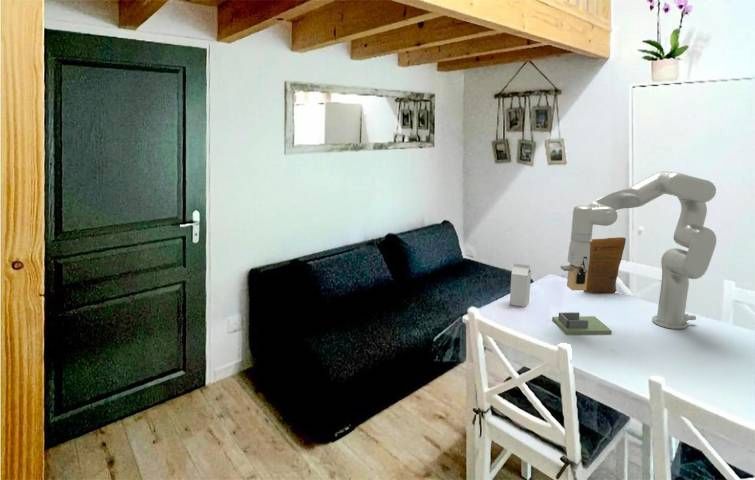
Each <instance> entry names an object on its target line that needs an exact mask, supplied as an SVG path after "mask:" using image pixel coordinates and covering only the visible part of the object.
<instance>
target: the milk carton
mask: <svg viewBox="0 0 755 480" xmlns="http://www.w3.org/2000/svg"><path fill="white" fill-rule="evenodd" d="M531 276H532V270H531V266H530V265H529V264H522V263H513V267H512V271H511V276H510V290H509V291H510V293H509V305H511V306H517V307H523V308H525V307H526V306H527V305H528V304H529V303H530V291H531V279H532V277H531Z"/></svg>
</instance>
